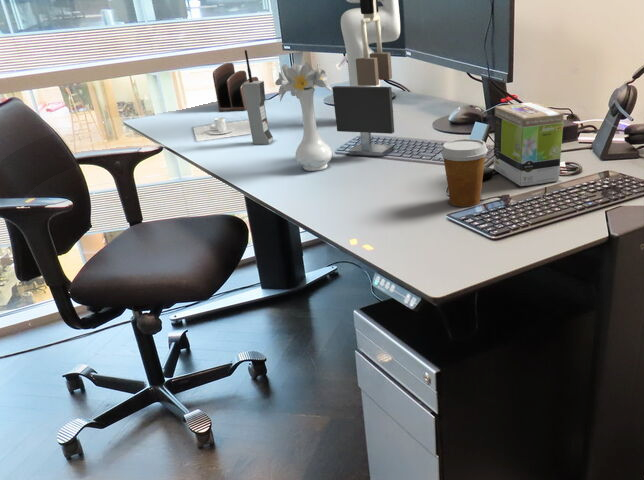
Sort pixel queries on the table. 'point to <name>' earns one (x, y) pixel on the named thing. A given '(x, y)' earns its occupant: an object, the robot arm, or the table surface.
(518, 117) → the tea box
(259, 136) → the vintage mobile phone
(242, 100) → the letter holder
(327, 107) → the table surface
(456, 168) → the disposable coffee cup
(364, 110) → the monitor
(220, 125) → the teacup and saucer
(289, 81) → the flower vase
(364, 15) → the headphones
